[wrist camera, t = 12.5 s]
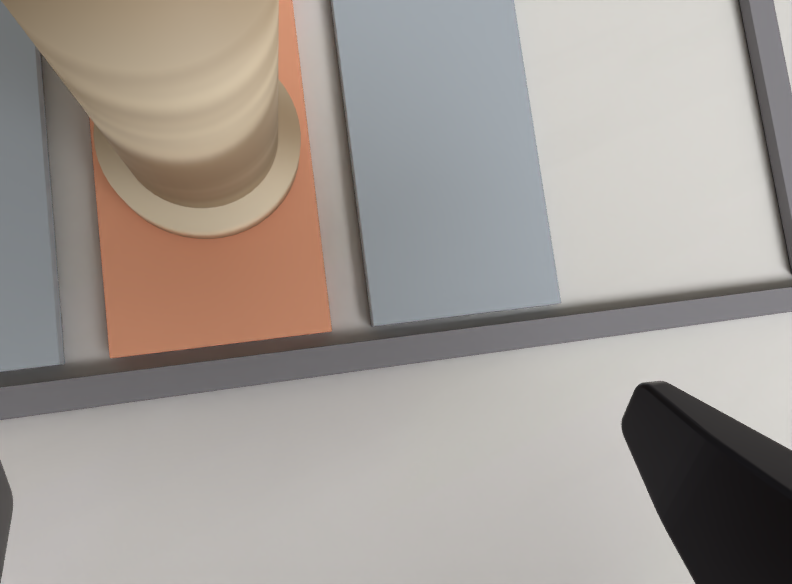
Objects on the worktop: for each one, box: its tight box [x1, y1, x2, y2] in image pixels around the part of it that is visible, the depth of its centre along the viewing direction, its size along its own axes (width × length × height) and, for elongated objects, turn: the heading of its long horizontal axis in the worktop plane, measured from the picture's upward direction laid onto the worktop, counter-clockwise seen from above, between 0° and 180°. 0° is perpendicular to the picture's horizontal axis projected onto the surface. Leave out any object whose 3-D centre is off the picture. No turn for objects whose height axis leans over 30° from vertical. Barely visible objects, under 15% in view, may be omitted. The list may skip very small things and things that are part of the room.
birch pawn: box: [1, 0, 301, 239], centre depth 13 cm, size 5×5×8 cm
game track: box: [0, 0, 792, 420], centre depth 18 cm, size 13×30×1 cm, turn 98°
